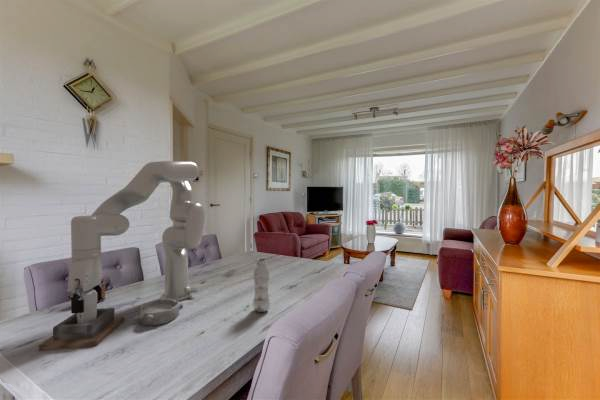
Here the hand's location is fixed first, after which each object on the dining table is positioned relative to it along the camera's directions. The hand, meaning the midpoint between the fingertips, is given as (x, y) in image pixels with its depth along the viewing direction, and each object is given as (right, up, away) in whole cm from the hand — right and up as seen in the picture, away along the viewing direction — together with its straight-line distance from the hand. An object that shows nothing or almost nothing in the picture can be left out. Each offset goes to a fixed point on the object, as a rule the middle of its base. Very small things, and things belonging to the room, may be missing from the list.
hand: (87, 306), depth 87 cm
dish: (+17, -9, +12) cm, 23 cm away
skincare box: (0, -8, 0) cm, 8 cm away
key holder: (0, -9, 0) cm, 9 cm away
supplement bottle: (-18, -9, +27) cm, 34 cm away
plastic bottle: (+54, -9, +18) cm, 58 cm away
